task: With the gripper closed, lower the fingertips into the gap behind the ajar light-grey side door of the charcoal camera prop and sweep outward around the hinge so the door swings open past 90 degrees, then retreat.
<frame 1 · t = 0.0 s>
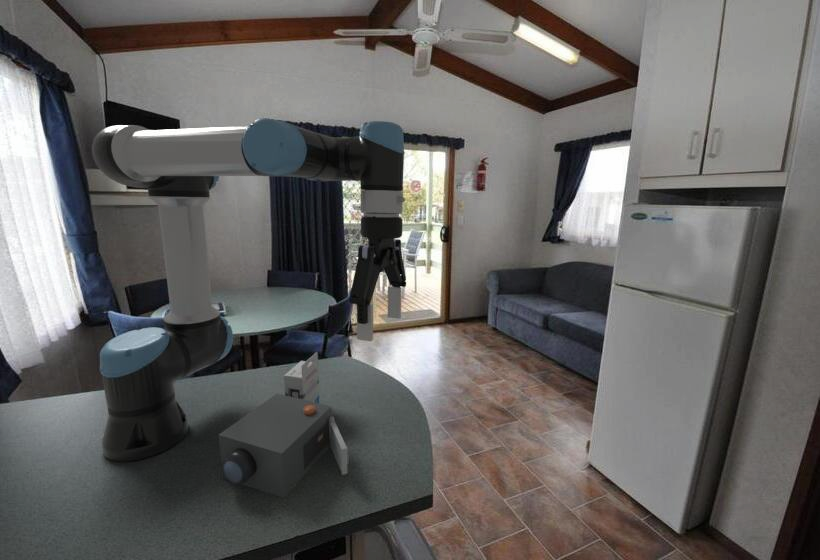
hand: (380, 327, 71), 28 cm above the kitchen counter, fingers open, 13 cm apart
ink box: (303, 412, 92), on the kitchen counter
side door: (339, 446, 73), point 4 cm above the kitchen counter, hinge at 45.0°
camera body: (281, 459, 75), on the kitchen counter
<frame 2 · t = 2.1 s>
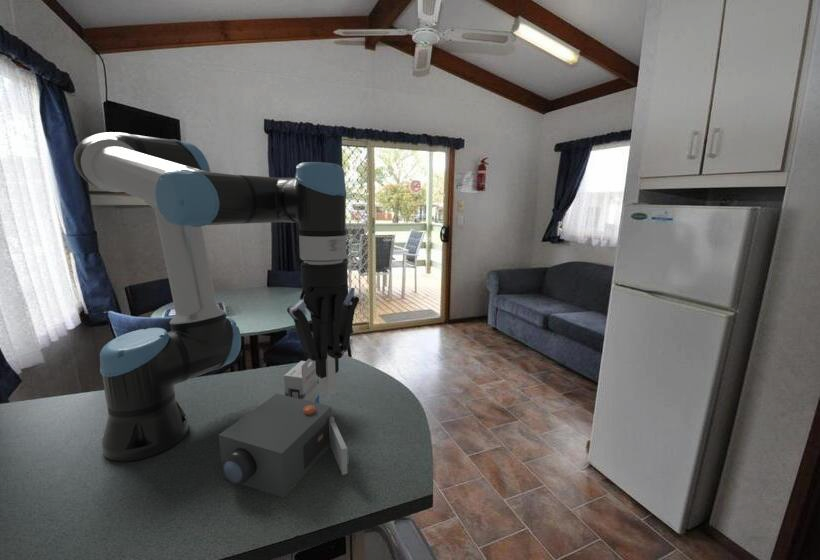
hand: (328, 391, 66), 18 cm above the kitchen counter, fingers closed
nothing on the kitchen counter moved.
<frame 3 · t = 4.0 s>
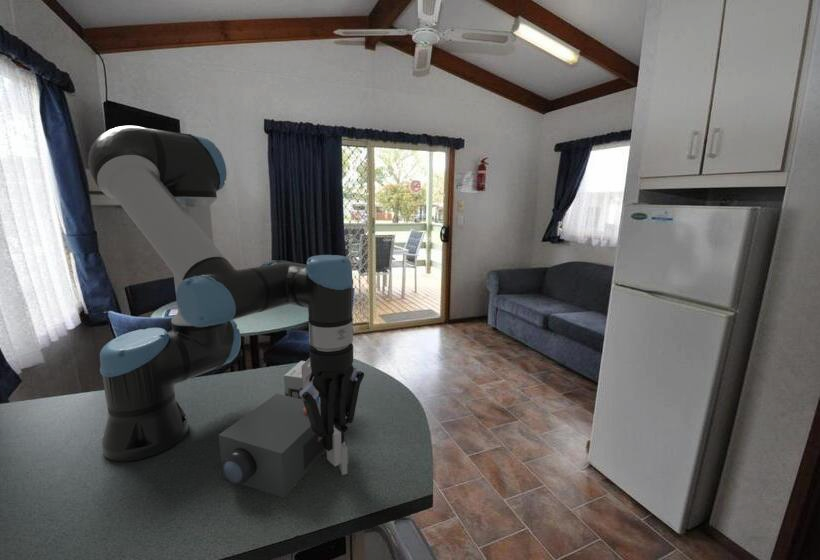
hand: (334, 460, 70), 3 cm above the kitchen counter, fingers closed
side door: (339, 446, 73), point 4 cm above the kitchen counter, hinge at 45.0°, touching gripper
everything else where it was.
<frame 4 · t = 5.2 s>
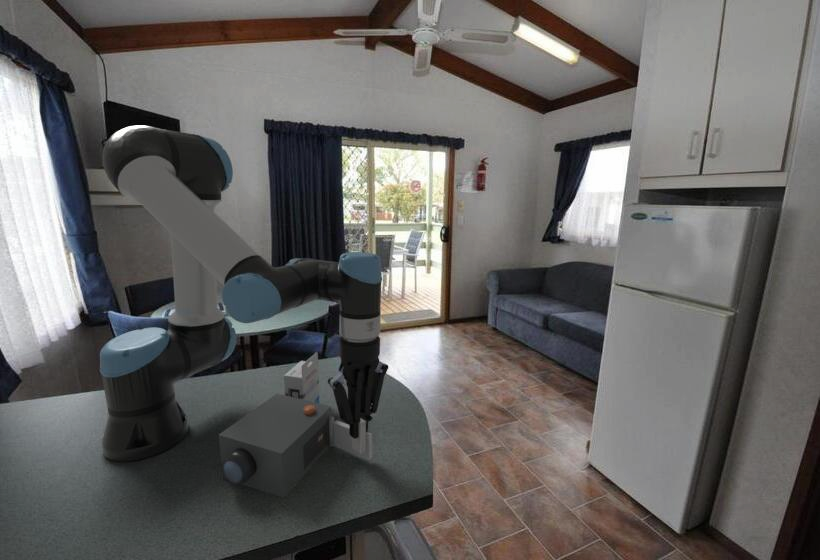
hand: (358, 449, 73), 4 cm above the kitchen counter, fingers closed
side door: (353, 439, 76), point 4 cm above the kitchen counter, hinge at 80.9°, touching gripper
everything else where it was.
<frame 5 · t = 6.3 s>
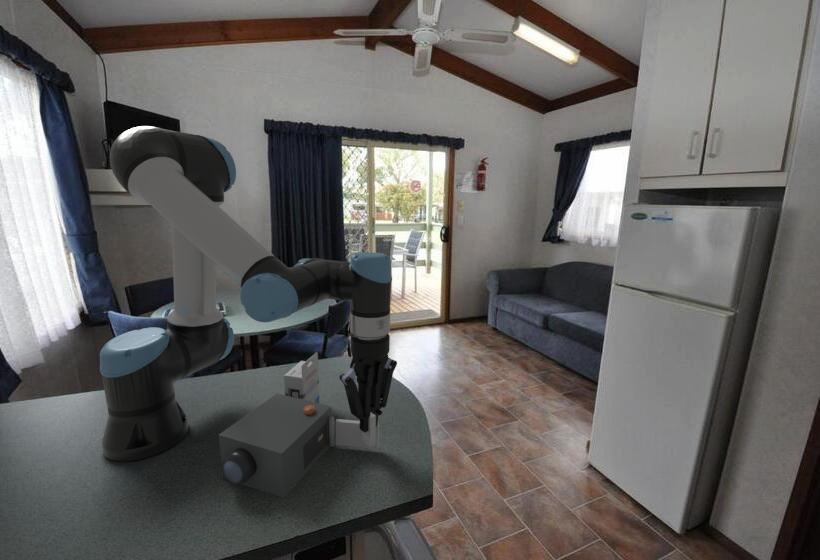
hand: (368, 442, 76), 3 cm above the kitchen counter, fingers closed
side door: (357, 432, 78), point 4 cm above the kitchen counter, hinge at 104.1°, touching gripper
everything else where it was.
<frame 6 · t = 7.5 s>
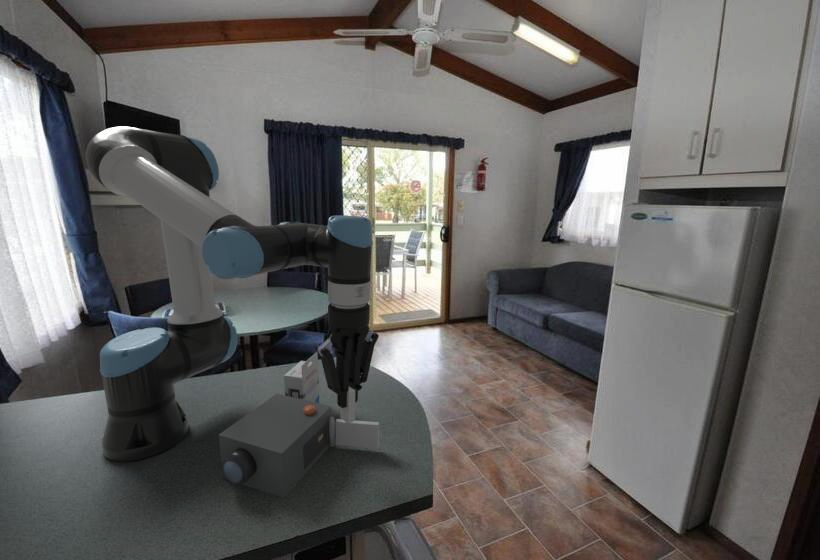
hand: (347, 419, 72), 10 cm above the kitchen counter, fingers closed
side door: (357, 432, 78), point 4 cm above the kitchen counter, hinge at 104.3°
everything else where it was.
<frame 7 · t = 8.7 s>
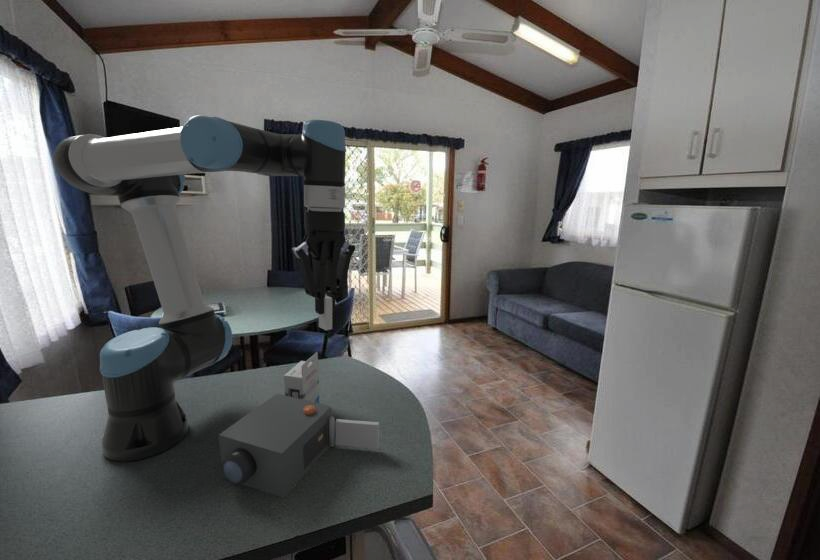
hand: (325, 327, 75), 26 cm above the kitchen counter, fingers closed
nothing on the kitchen counter moved.
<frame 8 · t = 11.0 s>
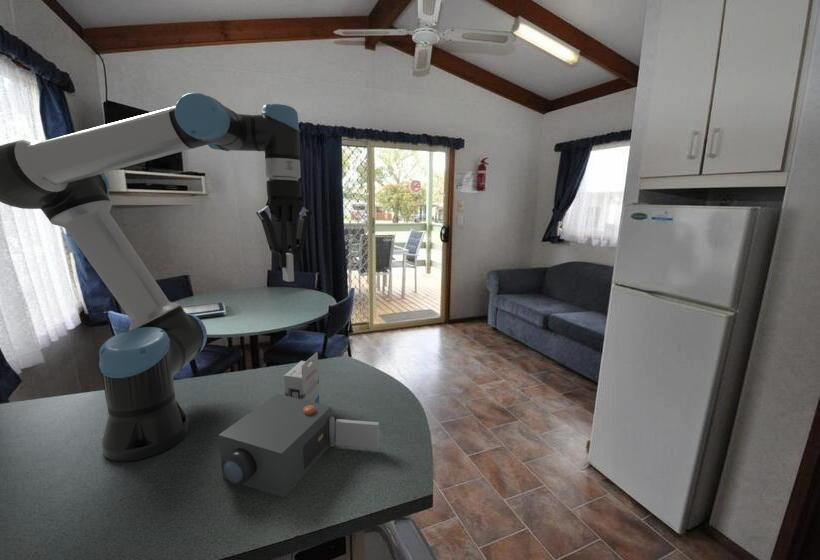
hand: (288, 280, 89), 32 cm above the kitchen counter, fingers closed
nothing on the kitchen counter moved.
at the end: side door at +104° (first picture: +45°) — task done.
